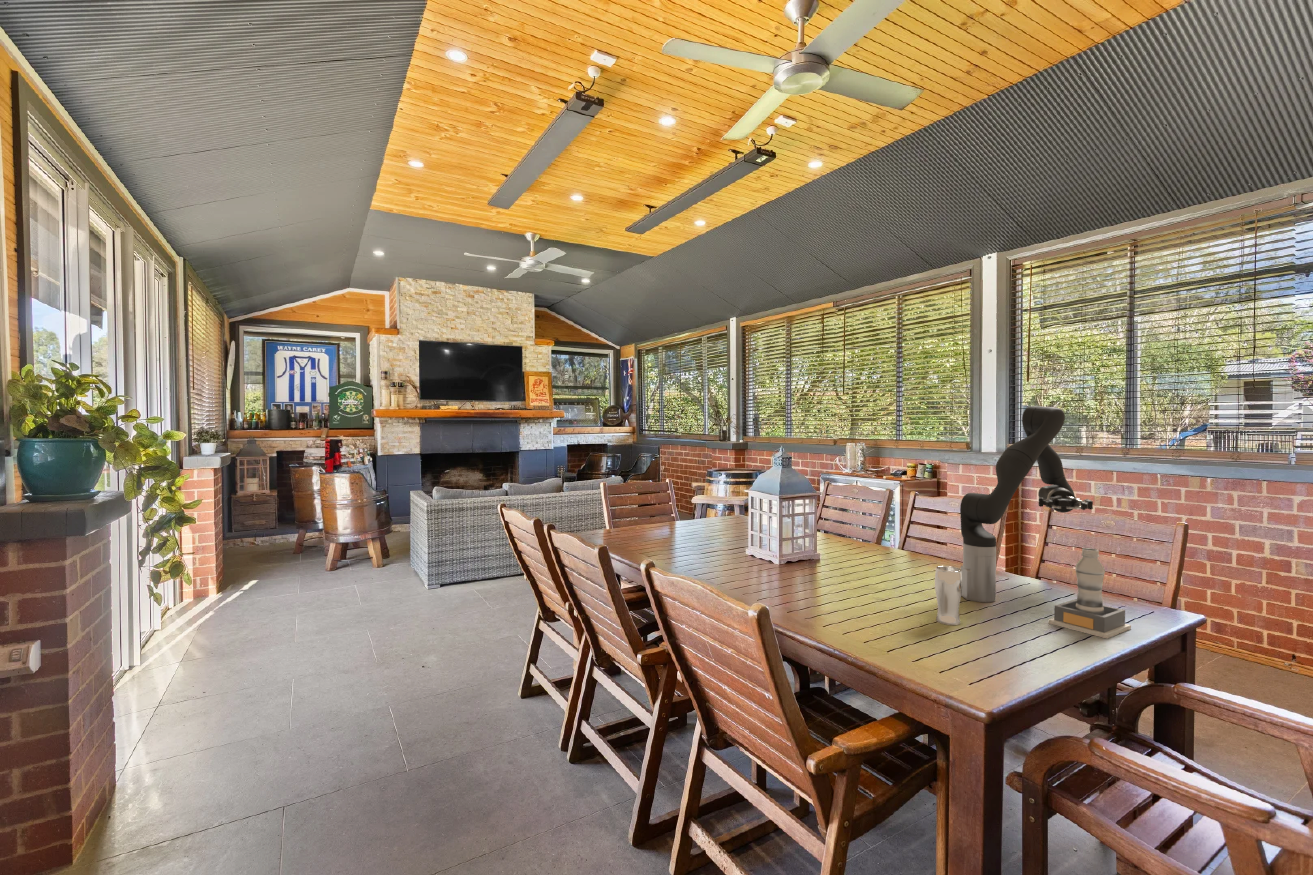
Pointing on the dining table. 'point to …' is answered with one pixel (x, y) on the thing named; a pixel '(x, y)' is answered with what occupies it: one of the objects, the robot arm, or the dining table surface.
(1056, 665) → the dining table surface
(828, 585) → the dining table surface
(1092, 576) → the plastic bottle
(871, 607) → the dining table surface
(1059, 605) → the labelled socket
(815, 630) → the dining table surface
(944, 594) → the beer glass
